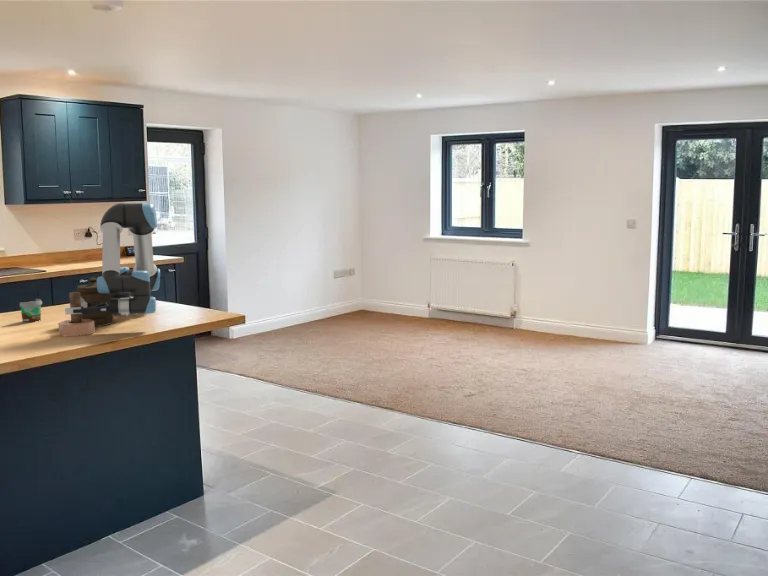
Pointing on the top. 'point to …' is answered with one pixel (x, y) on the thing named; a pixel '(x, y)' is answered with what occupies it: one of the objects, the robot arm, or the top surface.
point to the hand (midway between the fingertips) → (68, 308)
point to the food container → (31, 310)
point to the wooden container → (92, 294)
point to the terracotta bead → (76, 327)
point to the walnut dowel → (75, 306)
